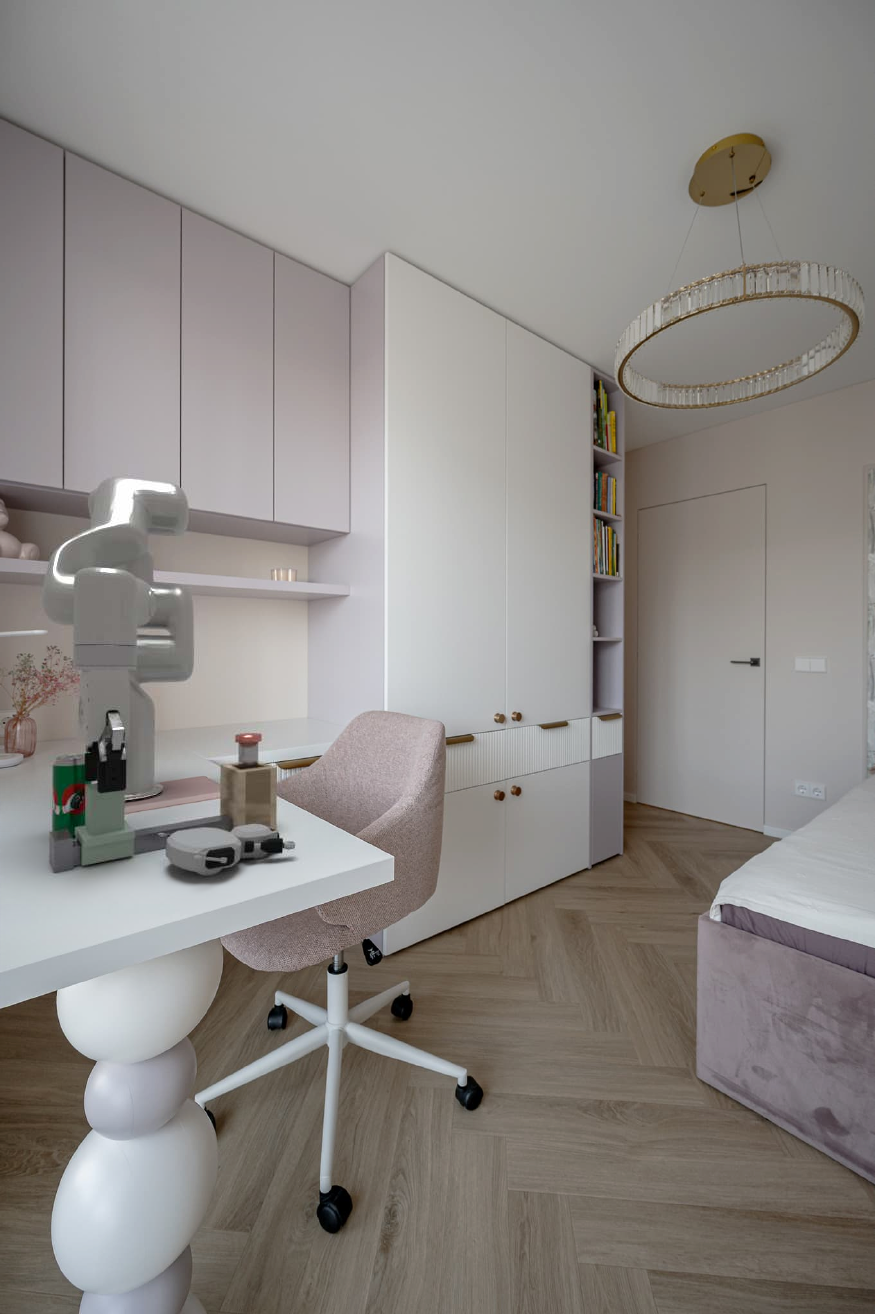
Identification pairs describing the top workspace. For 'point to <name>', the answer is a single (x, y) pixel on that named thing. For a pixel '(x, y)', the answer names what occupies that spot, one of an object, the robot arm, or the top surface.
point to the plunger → (248, 750)
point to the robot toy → (221, 847)
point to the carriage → (104, 827)
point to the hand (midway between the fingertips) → (104, 785)
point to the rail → (69, 852)
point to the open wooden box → (249, 794)
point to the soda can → (68, 793)
